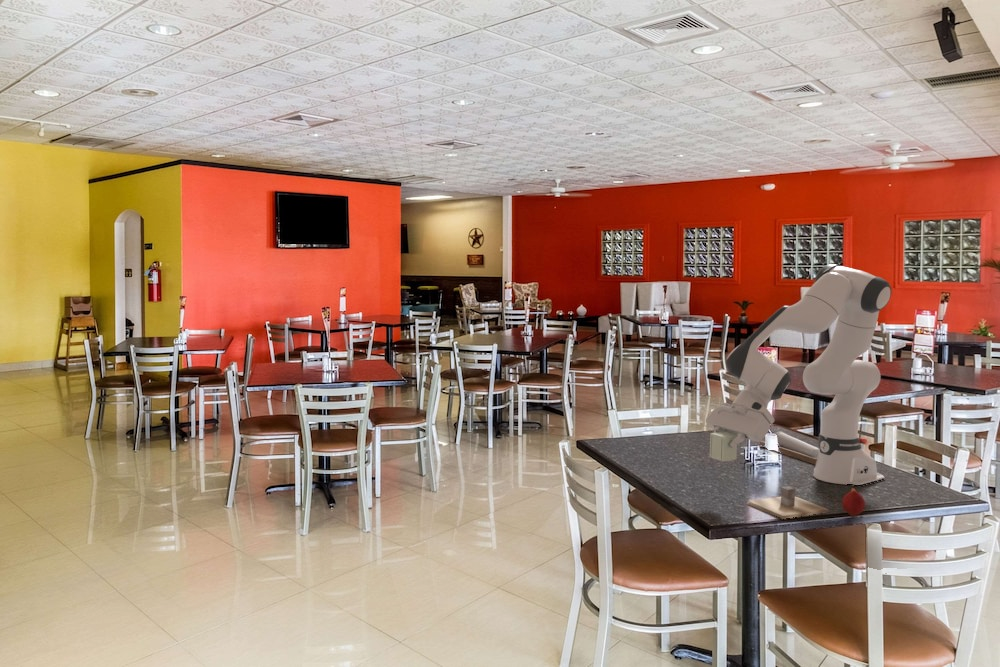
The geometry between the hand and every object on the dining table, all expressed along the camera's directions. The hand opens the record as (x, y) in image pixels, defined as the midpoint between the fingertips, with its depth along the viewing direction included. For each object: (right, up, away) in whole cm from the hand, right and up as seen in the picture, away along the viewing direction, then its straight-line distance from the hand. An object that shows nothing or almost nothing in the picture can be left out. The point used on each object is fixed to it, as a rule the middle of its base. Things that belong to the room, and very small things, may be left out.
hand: (722, 444), depth 218 cm
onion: (+33, -19, -12) cm, 40 cm away
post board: (+17, -18, -5) cm, 25 cm away
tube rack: (+45, -12, +57) cm, 74 cm away
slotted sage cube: (0, -4, +1) cm, 4 cm away
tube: (+46, -12, +57) cm, 74 cm away
